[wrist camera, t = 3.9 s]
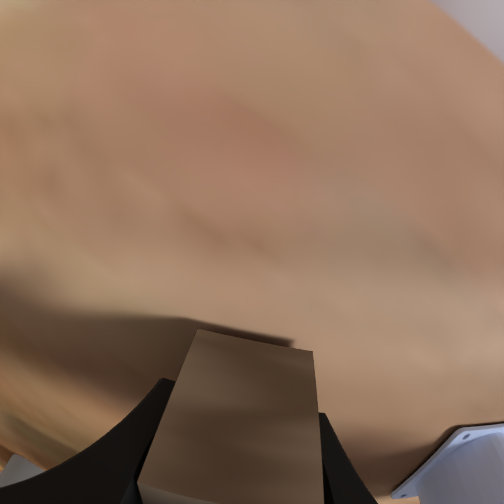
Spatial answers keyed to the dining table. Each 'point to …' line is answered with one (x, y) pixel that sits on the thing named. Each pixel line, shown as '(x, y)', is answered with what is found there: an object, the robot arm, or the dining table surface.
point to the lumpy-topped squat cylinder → (18, 470)
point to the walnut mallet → (238, 428)
